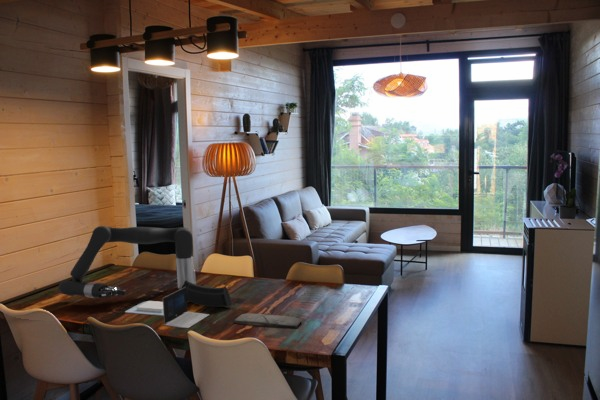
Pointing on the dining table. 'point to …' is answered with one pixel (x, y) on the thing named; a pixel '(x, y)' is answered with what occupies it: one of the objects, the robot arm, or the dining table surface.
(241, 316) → the stone slab
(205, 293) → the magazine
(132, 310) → the mat
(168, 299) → the laptop
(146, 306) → the tile
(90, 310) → the dining table surface
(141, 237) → the robot arm
